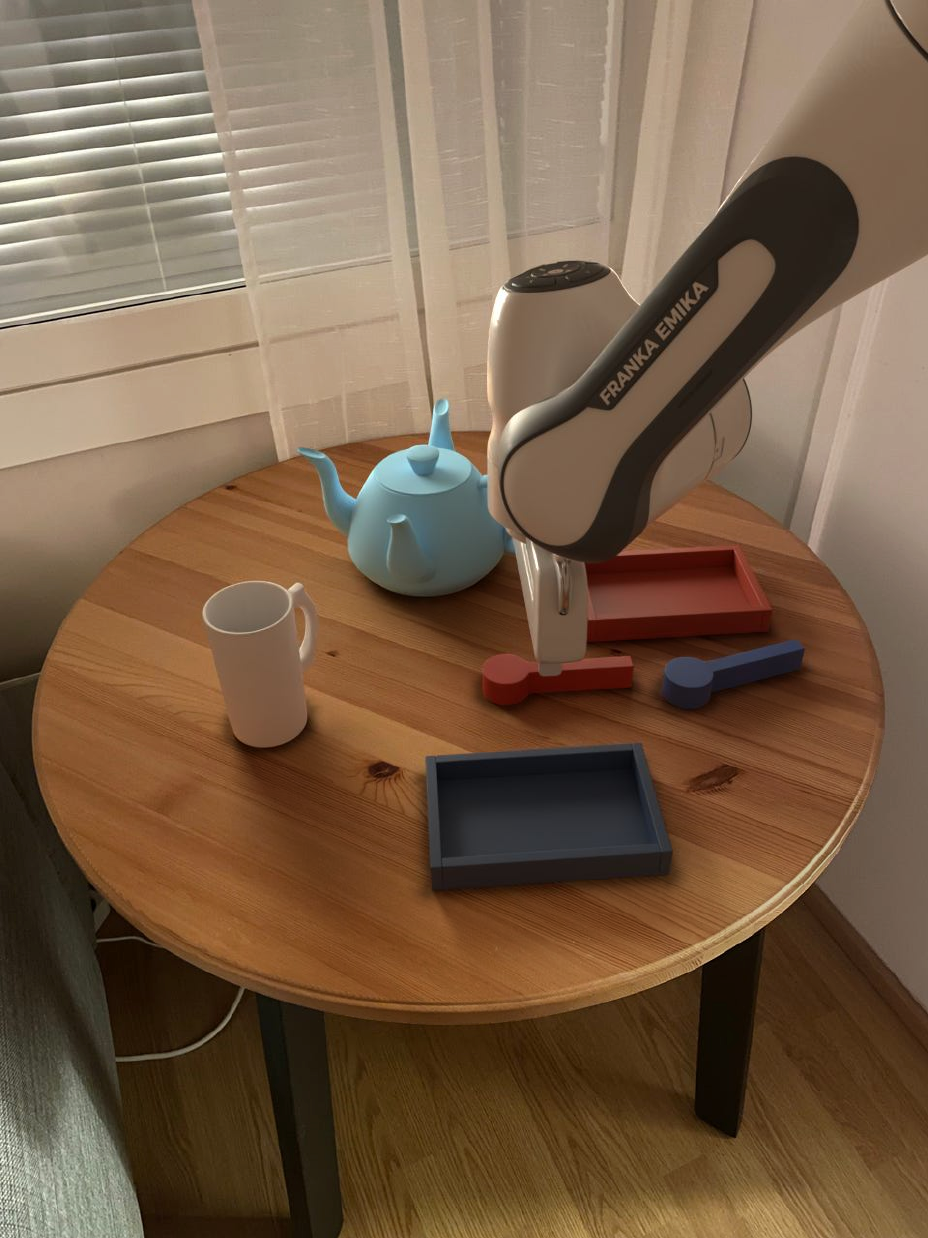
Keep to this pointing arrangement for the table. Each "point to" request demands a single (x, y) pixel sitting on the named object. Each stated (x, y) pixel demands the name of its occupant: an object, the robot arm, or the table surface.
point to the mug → (262, 658)
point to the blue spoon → (726, 672)
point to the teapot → (418, 517)
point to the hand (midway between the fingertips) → (541, 632)
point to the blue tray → (543, 817)
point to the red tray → (674, 594)
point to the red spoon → (551, 677)
